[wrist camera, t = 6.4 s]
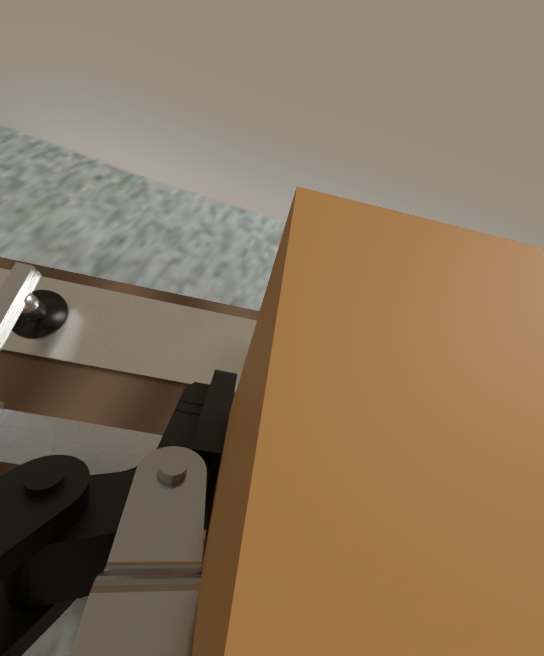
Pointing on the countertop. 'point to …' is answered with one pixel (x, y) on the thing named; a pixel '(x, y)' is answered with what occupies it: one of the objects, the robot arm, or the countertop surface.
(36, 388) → the wooden jig base
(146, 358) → the bolt hole plate
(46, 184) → the countertop surface
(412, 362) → the orange slider handle
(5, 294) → the steel rail
